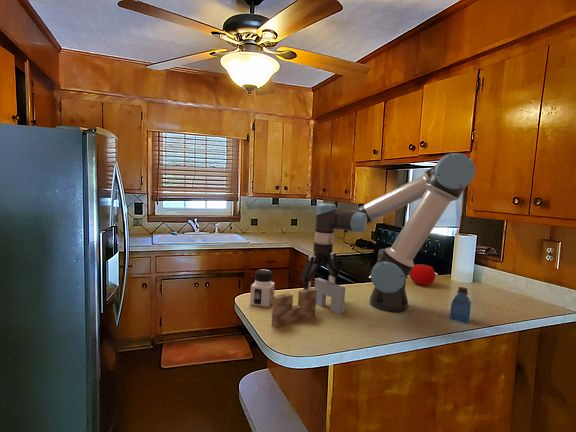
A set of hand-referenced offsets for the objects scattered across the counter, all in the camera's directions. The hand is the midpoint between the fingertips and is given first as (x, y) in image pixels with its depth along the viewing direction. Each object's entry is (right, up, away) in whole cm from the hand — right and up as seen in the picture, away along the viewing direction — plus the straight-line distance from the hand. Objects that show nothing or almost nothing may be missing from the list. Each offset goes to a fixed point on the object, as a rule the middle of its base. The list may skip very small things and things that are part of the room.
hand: (319, 294), depth 135 cm
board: (-10, -5, -17) cm, 21 cm away
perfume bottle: (+53, -8, -7) cm, 54 cm away
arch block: (+3, -4, -3) cm, 6 cm away
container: (-23, -3, -2) cm, 23 cm away
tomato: (+55, -3, +36) cm, 66 cm away
